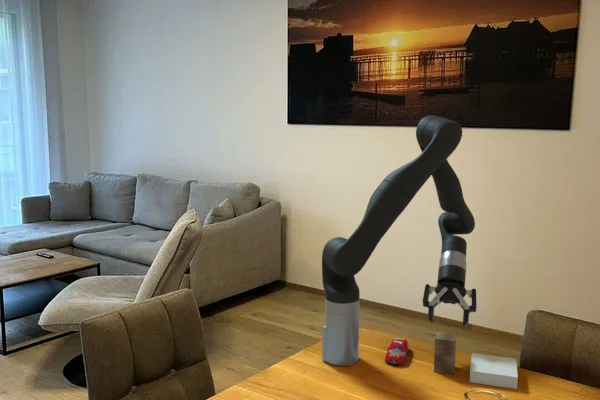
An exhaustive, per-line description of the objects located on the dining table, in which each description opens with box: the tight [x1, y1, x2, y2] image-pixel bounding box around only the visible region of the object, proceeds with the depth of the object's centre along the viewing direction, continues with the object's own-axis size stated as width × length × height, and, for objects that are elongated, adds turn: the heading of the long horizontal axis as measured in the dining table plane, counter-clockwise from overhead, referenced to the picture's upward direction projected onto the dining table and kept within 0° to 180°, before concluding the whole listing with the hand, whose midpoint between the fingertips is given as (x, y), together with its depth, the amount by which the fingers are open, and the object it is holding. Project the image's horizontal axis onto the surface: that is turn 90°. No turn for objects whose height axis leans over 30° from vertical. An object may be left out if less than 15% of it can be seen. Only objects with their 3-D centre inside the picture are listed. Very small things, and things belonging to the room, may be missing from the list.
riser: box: [469, 352, 519, 390], centre depth 141 cm, size 11×11×3 cm
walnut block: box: [433, 331, 457, 375], centre depth 144 cm, size 5×5×9 cm
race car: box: [384, 338, 409, 366], centre depth 153 cm, size 13×5×4 cm, turn 161°
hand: (447, 322), depth 149 cm, fingers open, 8 cm apart
